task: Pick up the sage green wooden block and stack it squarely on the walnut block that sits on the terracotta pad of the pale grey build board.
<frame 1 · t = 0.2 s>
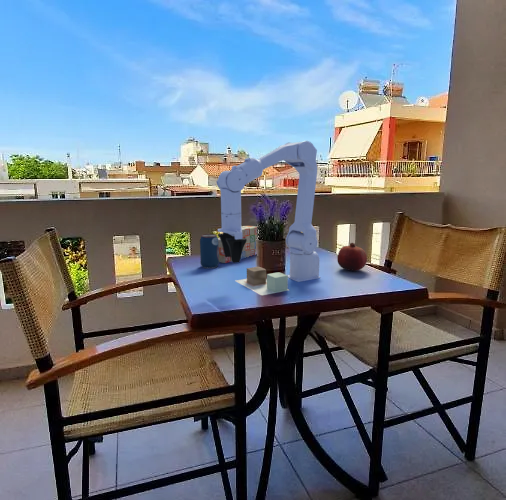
hand: (232, 259, 110), 10 cm above the table, tool pointing down, fingers open, 7 cm apart
stack of blocks: (237, 258, 155), on the table
fruit: (351, 270, 135), on the table
soda can: (209, 267, 141), on the table
build mat: (261, 286, 116), on the table
sage block: (277, 289, 112), resting on build mat
walnut block: (256, 282, 119), resting on build mat
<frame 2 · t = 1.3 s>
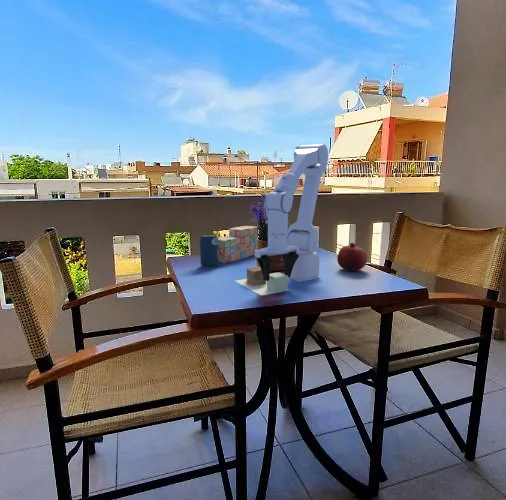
hand: (277, 278, 111), 4 cm above the table, tool pointing down, fingers open, 7 cm apart
nothing on the table moved.
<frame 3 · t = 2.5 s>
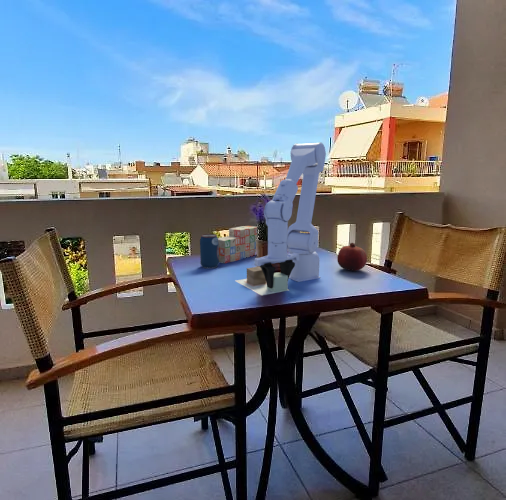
hand: (277, 286, 112), 1 cm above the table, tool pointing down, fingers closed on sage block, 4 cm apart
sage block: (277, 289, 112), resting on build mat, touching gripper
everything else where it was.
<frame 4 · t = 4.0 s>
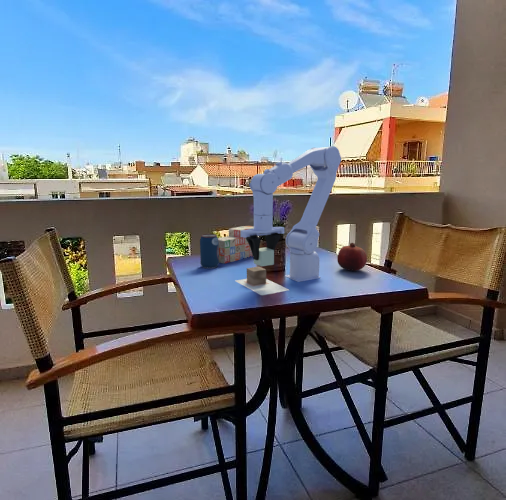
hand: (263, 258, 115), 9 cm above the table, tool pointing down, fingers closed on sage block, 4 cm apart
sage block: (263, 263, 115), point 7 cm above the table, touching gripper
everything else where it was.
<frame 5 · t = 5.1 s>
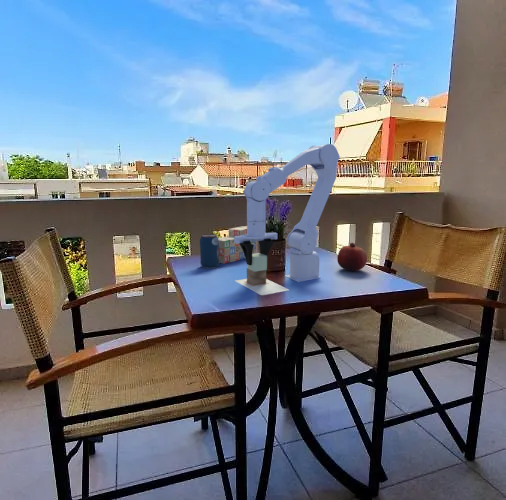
hand: (256, 263, 118), 7 cm above the table, tool pointing down, fingers closed on sage block, 4 cm apart
sage block: (257, 269, 118), point 5 cm above the table, touching gripper
everything else where it was.
when the fingers open (7 cm above the table, at t = 5.5 s): sage block stays where it is, resting on walnut block.
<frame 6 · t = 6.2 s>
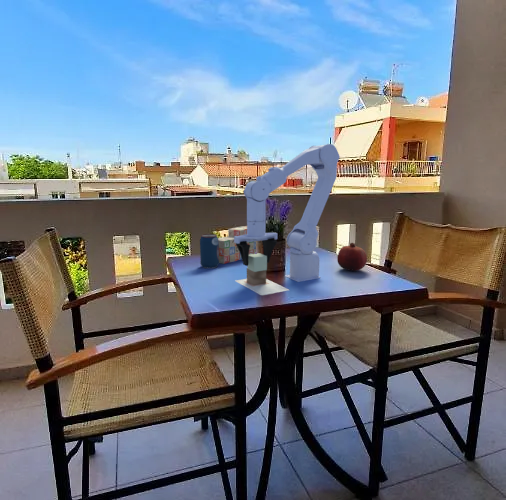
hand: (256, 263, 118), 7 cm above the table, tool pointing down, fingers open, 7 cm apart
sage block: (257, 269, 118), point 5 cm above the table, touching walnut block
walnut block: (256, 282, 119), resting on build mat, touching sage block
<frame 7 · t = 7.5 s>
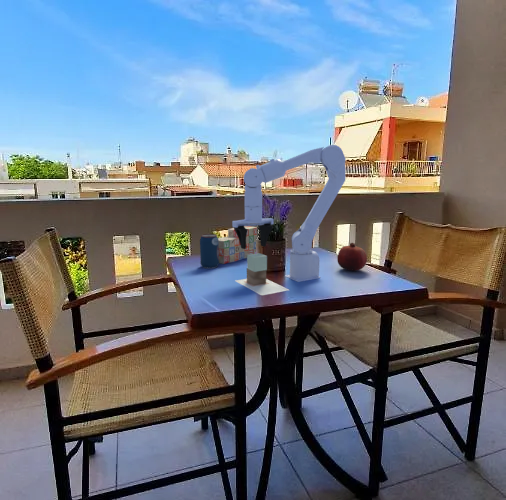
hand: (253, 247, 124), 10 cm above the table, tool pointing down, fingers open, 7 cm apart
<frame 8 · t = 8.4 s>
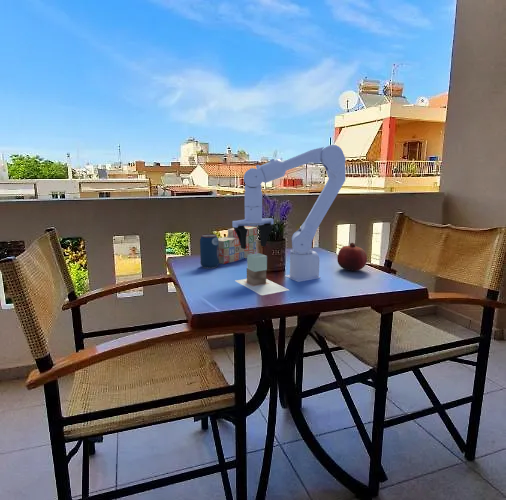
hand: (253, 247, 124), 10 cm above the table, tool pointing down, fingers open, 7 cm apart
at the end: sage block 0.4 cm off-centre on the walnut block, point 4.5 cm above the walnut block's base; sage block tilted 0°; walnut block 0.0 cm from the target spot, resting on build mat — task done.
